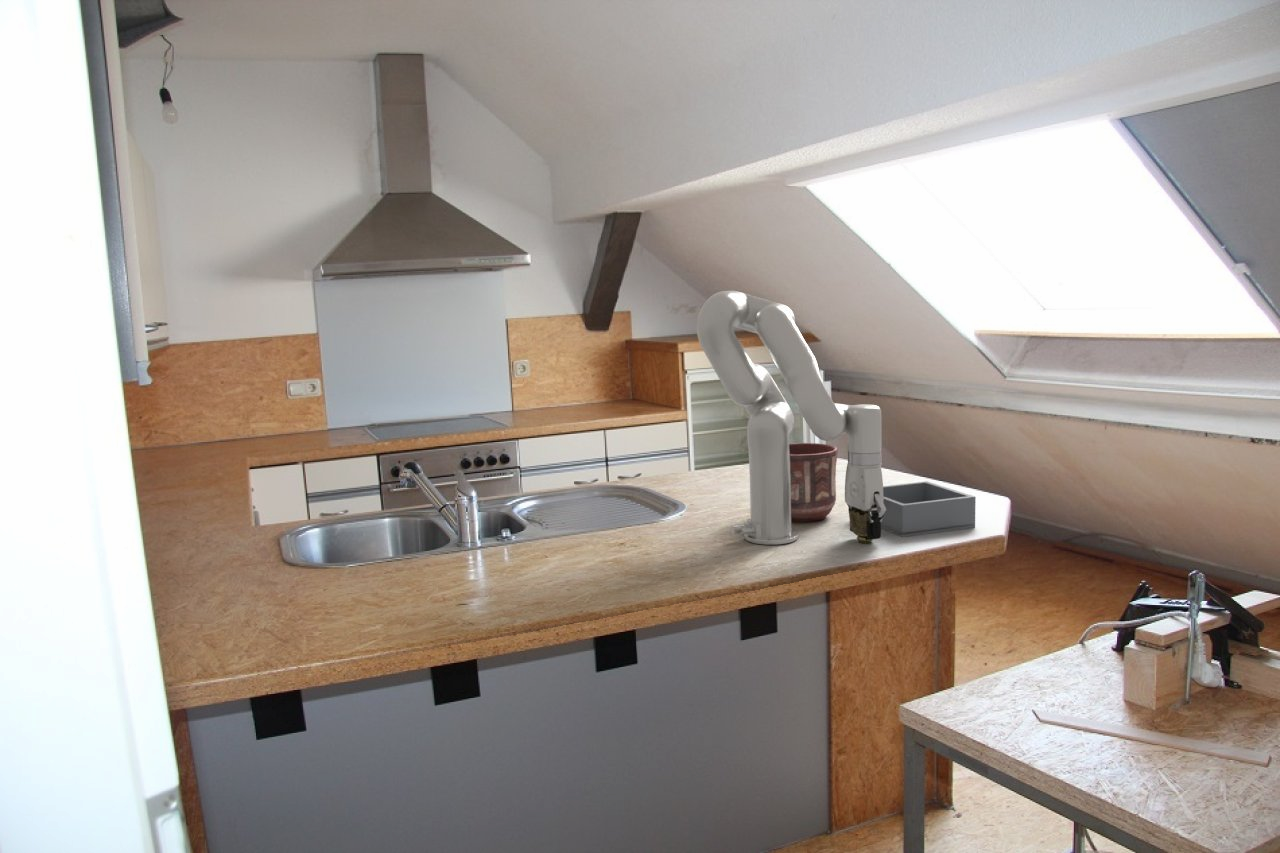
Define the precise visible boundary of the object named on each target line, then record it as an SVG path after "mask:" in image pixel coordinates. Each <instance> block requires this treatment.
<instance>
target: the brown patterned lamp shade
mask: <svg viewBox="0 0 1280 853" xmlns="http://www.w3.org/2000/svg"><path fill="white" fill-rule="evenodd" d="M871 508H874V507H871ZM847 509H848V517H849V526H850V525H851V529H852V531H853V532H852V533H853V534H855V535H856V540H857V542H858V543H862V544H870V543H872V542H873V540H874V539H872V540H869V539H867V522H869V519H868V514H867V511H862V510H859V509H857V508H854V509H853V508H852V507H851V508H850V507H848V508H847ZM876 512H877V511H876ZM874 513H875V511H874V512H872V516H873V515H874Z"/></svg>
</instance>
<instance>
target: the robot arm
mask: <svg viewBox="0 0 1280 853" xmlns="http://www.w3.org/2000/svg"><path fill="white" fill-rule="evenodd" d="M734 328H737V329H740V330H744V331H746V332H750V333H754V334H757V335H758V337H759V339H760V341H761V343H762V344H763V345H764V347H765V349H766V351H767V352H768V354H769V356H770V357H771V359H772V360H773V362H774V364H775V365H776V368H777V369H778V371H779V373H780V375H781V376H782V378H783V380H784V382H785V385H786V387H787V389H788V391H789V393H790V395H791V397H792V399H793V401H794V403H795V405H796V407H797V409H798V410H799V413H800V415H802V417H803V419H804V422H806V424H807V426H808V428H809V429H810V430H811V433H813V435H814V436H815V437H816V438H818V439H819V440H822V441H826V442H832V441H835V440H837V439H839V438H840V437H841V436H842V435H843V434H847V464H846V468H845V469H846V470H845V480H844V502H845V503H846V504H847V506H848V508H849V507H850V508H851V507H852V508H853V509H854V508H857V509H859V510H862V511H867V514H868V519H869V522H867V539H869V540H872V539H873V540H877V539H881V537H882V533H881V532H882V531H881V530H882V528H881V522H882V518H883V516H884V513H885V511H886V507H885V505H884V503H883V498H884V497H883V486H884V480H883V472H882V467H881V466H882V464H883V463H882V462H883V461H882V458H883V457H882V455H883V454H882V446H883V445H882V444H883V443H882V441H883V440H882V437H883V436H882V431H883V430H882V428H883V427H882V409H881V408H880V406H878V405H876V404H868V403H867V404H865V403H864V404H863V403H862V404H854V405H852V404H851V405H850V404H843V403H836V402H834V401H833V399H832V397H831V396H830V394H829V392H828V390H827V388H826V386H825V385H824V382H823V379H822V377H821V374H820V369H819V366H818V361H817V359H816V356H815V355H814V353H813V352H812V350H811V348H810V346H809V344H807V342H806V340H805V339H804V337H803V335H802V333H801V332H800V330H799V328H798V326H797V325H796V317H795V314H794V312H793V311H792V309H791V308H790V307H789V306H787V305H786V304H783V303H779V302H775V301H772V300H768V299H765V298H761V297H758V296H755V295H751V294H748V293H745V292H741V291H737V290H721V291H718V292H716V293H714V294H712V295H711V296H709V297H708V299H706V301H705V302H704V303H703V305H702V306H701V309H700V311H699V313H698V316H697V320H696V335H697V338H698V342H699V345H700V347H701V349H702V351H703V352H704V354H705V356H706V357H707V359H708V361H709V363H710V365H711V366H712V369H713V370H714V372H715V374H716V375H717V378H718V379H719V381H720V382H721V385H722V386H723V388H724V389H725V391H726V393H727V395H728V397H729V398H730V400H731V401H732V402H733V403H734V404H736V405H738V406H739V407H740V406H741V407H744V409H745V411H746V412H747V414H748V415H749V420H748V421H747V426H746V439H747V440H746V441H747V447H748V450H747V451H748V465H749V466H748V468H749V502H750V503H749V505H750V518H747V519H746V522H744V523H743V524H735V525H733V524H732V525H731V527H730V528H731V529H730V530H731V533H732V534H740V533H741V535H744V540H746V541H748V542H749V543H753V544H756V545H757V544H758V545H767V546H771V545H775V546H777V545H786V544H790V543H793V542H795V541H797V540H798V539H799V533H798V531H796V530H794V529H792V522H791V473H790V450H789V444H790V433H791V432H792V431H793V428H794V426H795V425H794V424H795V416H794V413H793V411H792V409H791V407H790V405H789V403H788V402H787V400H786V398H785V397H784V395H783V394H782V392H781V391H780V389H779V387H778V385H777V383H776V382H775V380H774V379H773V376H772V375H771V374H770V373H769V371H768V370H767V369H766V368H765V366H764V367H763V366H762V365H761V364H758V363H753V361H752V360H751V357H750V356H749V354H748V353H747V351H746V350H745V347H744V346H743V344H742V343H741V341H740V340H739V338H738V337H737V335H736V333H735V330H734ZM871 507H874V508H871ZM874 511H875V513H874V515H873V516H872V512H874ZM876 511H877V512H876ZM849 531H850V532H852V533H853V531H852V529H851V525H850V524H849Z"/></svg>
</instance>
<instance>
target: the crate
mask: <svg viewBox="0 0 1280 853" xmlns="http://www.w3.org/2000/svg"><path fill="white" fill-rule="evenodd" d="M883 497H884V498H883V503H884V505H885V507H886V511H885V513H884V516H883V518H882V522H881V529H883V530H885V531H888V532H891V533H893V534H896V535H898V536H899V537H902V538H903V537H911V536H912V537H913V536H920V535H926V534H934V533H941V532H949V531H955V530H956V531H957V530H965V529H972V528H976V496H974V495H971V494H969V493H965V492H963V491H958V490H955V489H952V488H949V487H945V486H943V485H939V484H937V483H933V482H930V481H926V480H925V481H918V482H909V483H901V484H891V485H883Z"/></svg>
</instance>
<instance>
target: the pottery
mask: <svg viewBox="0 0 1280 853" xmlns="http://www.w3.org/2000/svg"><path fill="white" fill-rule="evenodd" d="M789 450H790V473H791V523H798V524H799V523H803V524H804V523H815V522H819V521H822V520H824V519H825V518H827V516H828V515H830V513H831V512H832V510H833V509H834V506H835V504H836V500H837V485H836V483H837V482H836V476H837V475H836V474H837V463H838V462H837V460H838V451H839V449H838V448H837V447H836V446H834V445H831V444H825V443H817V442H796V443H795V442H793V443H789Z"/></svg>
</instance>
